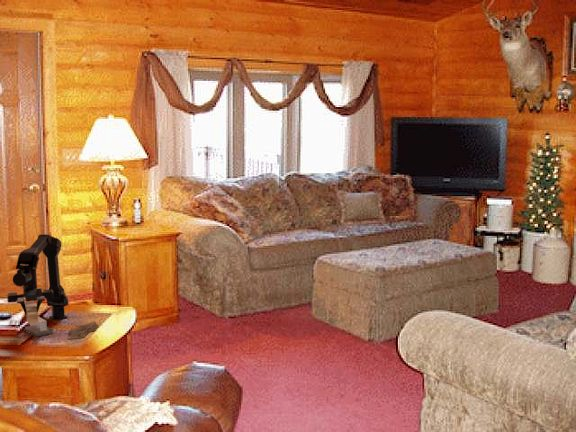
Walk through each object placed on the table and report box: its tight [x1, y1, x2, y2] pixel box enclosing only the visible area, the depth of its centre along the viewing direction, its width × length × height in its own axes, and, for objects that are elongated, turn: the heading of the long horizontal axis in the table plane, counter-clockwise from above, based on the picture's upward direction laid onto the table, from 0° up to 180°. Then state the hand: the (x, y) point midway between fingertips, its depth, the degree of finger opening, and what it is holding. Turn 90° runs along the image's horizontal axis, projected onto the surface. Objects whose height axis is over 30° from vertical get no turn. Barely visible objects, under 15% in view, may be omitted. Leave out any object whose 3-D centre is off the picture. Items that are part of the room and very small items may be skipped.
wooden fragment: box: [67, 321, 100, 340], centre depth 324 cm, size 26×11×1 cm, turn 167°
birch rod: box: [24, 301, 39, 325], centre depth 311 cm, size 18×4×4 cm, turn 24°
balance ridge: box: [24, 316, 54, 338], centre depth 321 cm, size 12×8×6 cm, turn 43°
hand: (31, 314), depth 311 cm, fingers closed on birch rod, 4 cm apart
